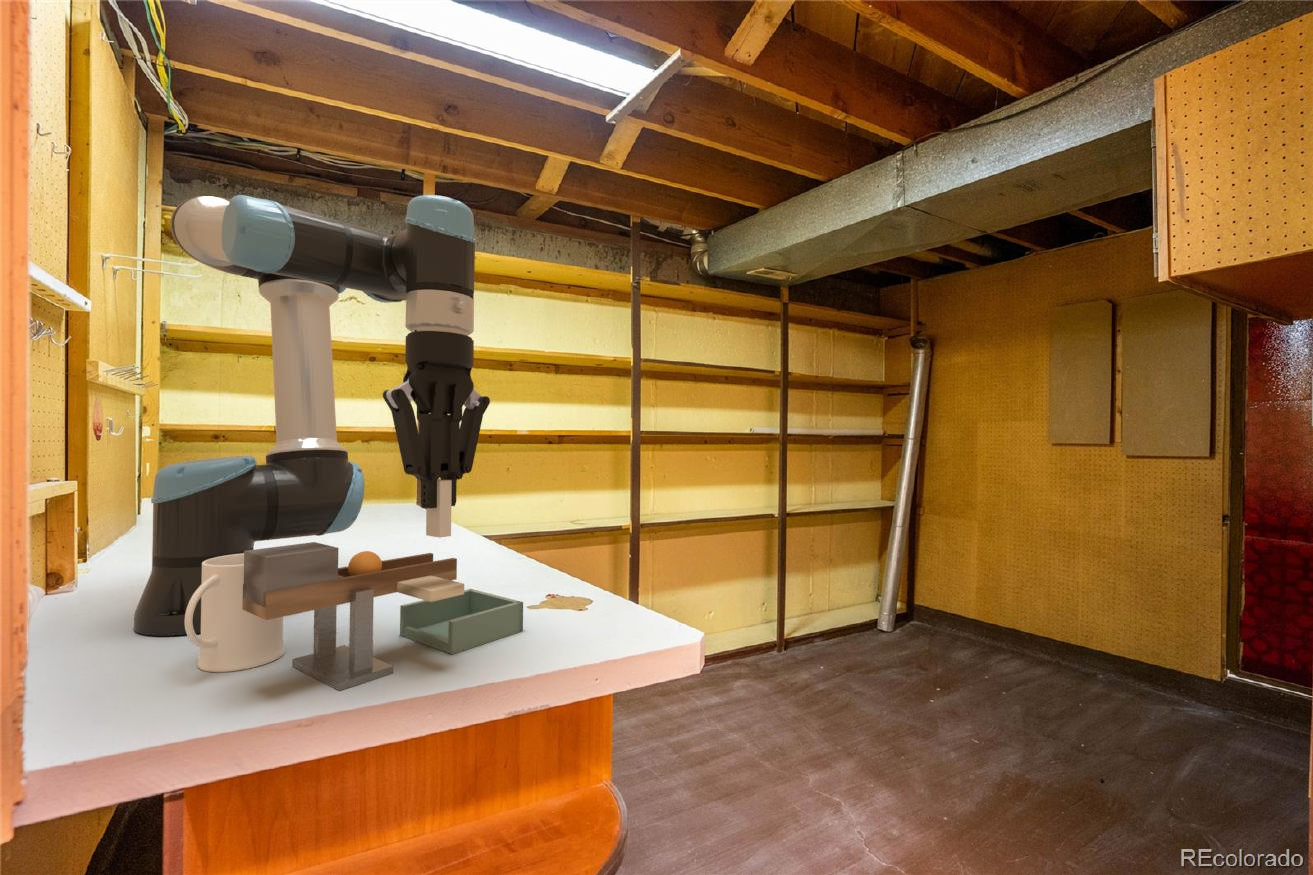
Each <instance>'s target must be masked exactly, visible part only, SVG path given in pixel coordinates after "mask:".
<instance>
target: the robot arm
mask: <svg viewBox="0 0 1313 875" xmlns="http://www.w3.org/2000/svg"><path fill="white" fill-rule="evenodd" d="M474 218H475V217H474V213H473V212H472V210H471V208H470V207H469V206H468V205H466V204H465V203H463V202H461V201H460V200H457V199H454V198H451V197H448V196H445V195H444V196H443V195H438V194H437V195H436V194H424V195H419V196H415V197H413V198H411V200H409V202H408V204H407V209H406V216H405V218H404V222H405V225H406V226H405V227H406V228H405V229H403V230H402V231H399V232H398V233H395V234H388V233H385V232H381V231H378V230H374V229H370V228H367V227H363V226H360V225H356V224H353V223H350V222H349V223H348V222H346V221H342V220H336V219H332V218H329V217H326V216H322V215H319V214H315V213H313V212H309V211H305V210H302V209H298V208H295V207H291V206H287V205H284V204H280V202H279V203H278V201H277V202H276V201H274V200H272V199H271V200H269V199H265V198H257V197H254V196H248V195H245V194H238V195H234V196H233V197H232V198H229V197H221V196H219V197H218V196H195V197H194V196H192V197H191V198H187V199H186V200H185V199H184V200H183V201H182V202H181V203H180V204H178V205H177V206H176V208H174V210H173V212H172V214H171V217H170V230H171V235H172V238H173V239H174V241H175V243H176V245H178V247H179V248H180V249H181V250H182V252H184V253H185V254H186V255H187V256H189V257H190V258H192V259H193V260H195V261H197V262H199V263H201V264H202V265H205V266H207V267H209V268H213V269H214V270H218V271H221V272H224V273H227V274H230V275H234V276H235V275H236V276H241V277H244V278H250V279H253V280H254V279H255V280H257V282H258V293H259V295H260V296H261V297H262V298H264V300H266V301H267V302H268V303H269V304H270V305H269V306H270V322H271V327H270V328H271V348H272V349H271V350H272V368H273V369H272V370H273V390H274V412H275V413H274V414H275V419H274V420H275V436H276V438H275V439H276V443H275V445H274V446H273V447H272V448H271V449H270V450H268V452H267V453H266V454H265V464H257V460H256V459H255V456H253V455H238V456H237V455H236V456H228V457H227V456H226V457H225V456H224V457H223V456H222V457H214V458H206V459H196V460H190V461H183V462H178V463H177V462H176V463H172V464H168V465H166V466H163V467H162V468H160V469H159V470H157V472H156V474H155V475H154V481H153V490H152V497H151V501H150V502H151V503H152V506H153V507H152V550H151V555H152V557H151V558H152V559H151V560H152V561H151V571H150V576H149V577H148V580H147V582H146V584H145V587H144V589H143V591H142V594H141V597H140V598H139V600H138V601H139V602H138V603H137V606H136V607H135V611H134V614H133V630H134V632H136V633H137V634H140V635H147V636H158V637H160V636H161V637H162V636H164V637H165V636H181V635H182V636H183V635H187V633H186V630H185V613H186V609H187V606H188V603H189V601H190V599H191V597H192V596H193V594H194V593H195V591H196V590H197V589H198V588H199V586H200V585H201V584H202V562H203V561H205V560H208V559H211V558H215V557H220V556H226V555H233V554H242V553H244V551H247V550H255V549H254V547H255V546H254V545H255V542H261V541H272V540H273V541H274V540H282V539H291V538H301V537H310V536H319V537H320V536H324V535H326V534H332V533H334V534H335V533H340V532H344V531H346V530H348V529H349V528H351V526H352V525H353V524H354V523H355V522H356V521H357V518H358V517H359V514H360V512H361V509H362V505H363V503H364V497H365V487H366V486H365V476H364V474H363V472H362V468H361V466H360V465H359V464H357V463H354V462H353V461H349V455H348V454H349V451H348V450H347V449H346V448H345V447H344V446H343V445H341V444H340V443H339V442H338V434H337V417H336V402H335V400H336V399H335V398H336V397H335V385H334V384H335V381H334V368H333V366H334V364H333V349H332V347H333V346H332V345H333V344H332V331H331V327H332V326H331V315H330V314H331V313H330V311H331V310H330V307H331V306H332V305H333V304H334V303H336V302H337V301H338V300H339V297H340V296H339V294H343V293H344V292H345V291H346V290H347V289H350V290H355V291H360V292H362V293H364V294H365V295H366V296H367V297H369V298H371V299H372V300H374V301H376V302H380V303H386V304H388V303H389V304H390V303H401V302H402V301H405V322H404V323H405V325H404V326H405V327H404V328H406V329H407V330H408V331H409V332H408V334H406V336H405V352H404V353H405V357H404V358H405V365H406V367H407V368H406V372H405V374H404V376H403V380H402V383H401V384H399V385H397V386H396V387H394V388H392V389H386V390H384V391H383V392H382V398H383V400H384V402H385V403H386V405H387V406H388V408H389V410H390V411H391V416H392V420H393V426H394V430H395V434H396V439H397V444H398V449H399V453H400V457H401V463H402V467H403V471H404V473H405V474H406V475H411V476H413V477H415V478H416V479H417V480H419V481H420V506H421V508H424V509H425V510H426V511H425V512H426V514H425V517H426V518H425V526H426V527H425V535H426V536H428V537H433V538H445V537H452V507H455V506H456V504H457V489H458V488H457V485H458V484H457V482H458V480H462V478H463V477H464V475H465V474H470V473H471V472H472V470H473V465H474V460H475V456H476V450H477V447H478V446H477V445H478V442H479V437H480V432H481V427H482V422H483V417H484V414H485V412H486V411H487V409H488V408H489V405H490V404H491V400H490V398H489V396H487V395H486V396H485V395H484V396H482V395H481V394H480V393H479V392H478V391H476V390H475V389H474V388H475V384H474V381H473V379H472V375H471V372H472V370H473V367H474V363H475V362H474V358H475V357H474V353H475V352H474V351H475V350H474V349H475V347H474V345H475V342H474V340H473V337H471V336H470V335H471V334H473V332H475V328H474V327H475V326H474V323H475V322H474V320H475V318H474V317H475V312H474V311H475V298H474V296H475V295H474V294H475V273H476V272H475V269H476V268H475V267H476V266H475V265H476V244H477V239H476V237H475V221H474ZM412 401H413V403H415V404H414V405H415V406H416V416H415V411H414V407H413V405H412ZM463 406H464V407H465V408H464V410H463ZM417 421H418V425H417ZM439 478H440V479H439ZM193 629H194V631H195V633H196V634H201V597H200V599H199V601H198V602H197V604H196V607H195V609H194V613H193Z"/></svg>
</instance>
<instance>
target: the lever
mask: <svg viewBox="0 0 1313 875" xmlns="http://www.w3.org/2000/svg"><path fill="white" fill-rule="evenodd" d="M381 562H382V569H381V571H377V572H371V573H366V574H360V575H355V576H350V574H349V571H348V566H343V567H339V547H338V546H337V547H336V546H332V545H329V544H325V543H324V544H323V543H320V542H316V541H312V542H303V543H295V544H288V545H280V546H272V547H264V548H256V549H253V550H247V551H244V584H243V601H242V609H243V610H245V611H247V612H249V613H251V614H254V615H256V616H258V617H260V618H262V619H265V620H270V619H275V618H279V617H283V618H284V617H288V616H293V615H297V614H302V613H307V612H311V611H314V610H317V609H321V608H326V607H331V606H335V605H337V606H339V605H345V604H350V591H352V590H357V589H362V588H367V587H369V588H372V589H374V598H376V597H382V596H386V595H391V594H395V593H399V594H403V595H406V596H408V597H413V598H417V599H419V600H421V601H422V600H425V601H429V602H433V601H437V600H441V599H446V598H450V597H454V596H458V595H462V594H464V590H465V583H462V582H458V581H456V580H457V578H458V577H457V575H458V573H457V572H458V570H457V569H458V558H455V557H451V558H446V559H439V560H434V553H432V552H428V553H427V552H426V553H422V554H421V553H420V554H415V555H410V556H403V557H397V558H390V559H385V560H381Z"/></svg>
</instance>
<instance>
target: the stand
mask: <svg viewBox="0 0 1313 875" xmlns="http://www.w3.org/2000/svg"><path fill="white" fill-rule="evenodd" d="M374 598H375V597H374V589H372V588H369V587H367V588H362V589H357V590H352V591H350V602H349V636H348V637H349V639H348V642H349V643H348V645H349V646H348V645H346V644H343V645H340V646H337V610H338V609H337V606H338V605H335V606H331V607H326V608H321V609H317V610H313V653H310V654H307V655H303V656H300V657H295V658H292V659H291V660H292V663H291V664H292V665H291V666H292V667H293V668H295V669H297V670H299V671H301V672H303V673H304V674H306V675H308V676H310V677H312V678H314V679H316V680H317V681H319V682H321V683H324V684H325V685H328V686H329V687H330V688H333V689H335V690H337V691H338V692H340V691H343V690H346V689H349V688H352V687H355V686H359V685H361V684H365V683H367V682H370V681H372V680H373V681H374V680H376V679H379V678H382V677H384V676H385V677H386V676H388V675H391V674H394V665H392V664H390V663H388V662H385V661H383V660H380V659H378V658H377V657H374V656H373V653H374V649H373V648H374V646H373V645H374V602H375V601H374Z"/></svg>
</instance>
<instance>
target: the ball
mask: <svg viewBox="0 0 1313 875" xmlns="http://www.w3.org/2000/svg"><path fill="white" fill-rule="evenodd" d="M381 561H382V560H381V558H380V556H379V555H378V554H377V553H375V552H374V551H368V550H365V551H361V552H357V553H356V554H354V555H353V557H352V558H350V560H349V562H348V566H347V567H348V571H349V574H350V576H355V575H360V574H366V573H371V572H377V571H381V569H382V562H381Z"/></svg>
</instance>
